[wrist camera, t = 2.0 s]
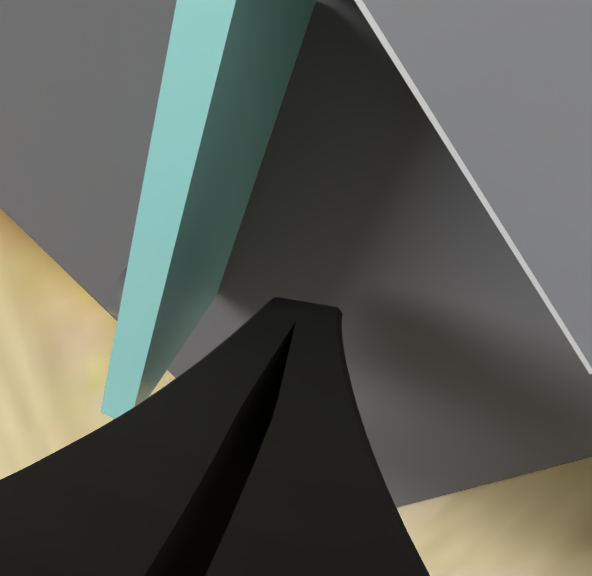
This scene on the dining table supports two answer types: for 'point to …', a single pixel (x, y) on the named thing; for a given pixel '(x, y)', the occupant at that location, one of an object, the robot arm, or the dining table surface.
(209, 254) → the side door
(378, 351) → the mat
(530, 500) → the dining table surface
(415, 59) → the housing
